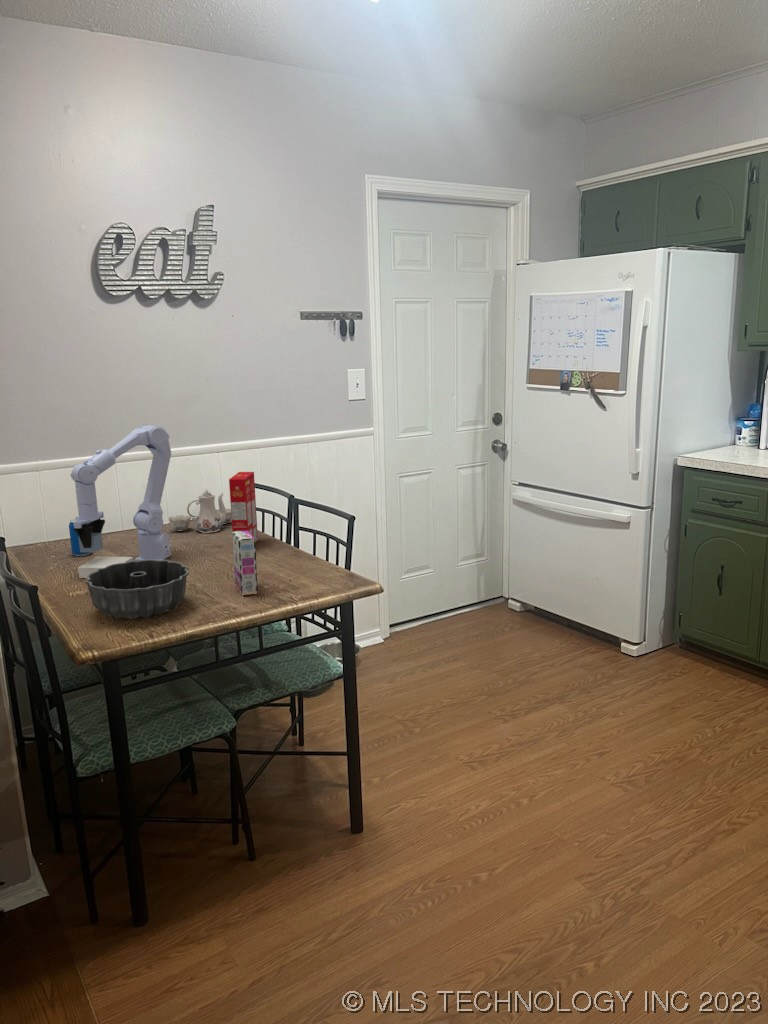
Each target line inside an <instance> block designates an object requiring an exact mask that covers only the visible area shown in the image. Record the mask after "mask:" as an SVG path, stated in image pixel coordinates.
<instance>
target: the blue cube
mask: <svg viewBox="0 0 768 1024" xmlns="http://www.w3.org/2000/svg"><path fill="white" fill-rule="evenodd" d="M78 539H79V547H80V552H91V553H96V552H99V551H100V550H102V549H104V544H103V543H104V542H103V535H102V532H101V533H92V535H91V548H84V547H83V545H82V542H81V540H80V538H79V537H78Z"/></svg>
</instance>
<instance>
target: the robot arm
mask: <svg viewBox="0 0 768 1024" xmlns="http://www.w3.org/2000/svg"><path fill="white" fill-rule="evenodd" d="M169 439H170V435H169V433H168V432H167V431H166V430H165V428H164V427H162V426H160V425H159V426H158V425H157V426H155V425H149V424H141V425H140V426H138V427H137V428H135V429H133V430H132V431H131V432H130V433H129V434H128V435H126V436H125V437H124V438H122V439H121V440H119V442H117V443H115V444H114V445H113V446H112V447H110V448H109V449H105V448H104V449H98V450H96V451H95V453H96V454H94V455H92V456H91V457H89V458H88V459H84V460H82V462H83V463H79V464H76V465H74V466H73V468H72V470H71V473H70V477H71V480H73V481H74V485H75V495H76V503H77V504H76V505H77V512H78V513H77V516H76V517H75V519H77V520H76V521H75V522H73V523H74V530H75V531H76V533H77V534H78V536H79V538H80V540H81V542H82V545H83V547H84V548H91V535H92V533H102V531H103V529H104V526H105V524H106V520H105V519H103V518H104V516H105V514H104V511H99V509H98V500H97V499H98V497H97V490H96V482H97V479H98V476H100V475H101V474H103V473H104V472H105V471H107V470H109V469H110V468H111V467H112V466H114V465H116V459H118V458H119V457H121V456H122V455H123V454H126V453H127V452H128V451H130V450H131V449H132V450H133V448H135V447H136V446H145V447H146V448H147V449H148V451H149V452H150V453H151V454H152V461H151V465H150V469H149V474H148V479H147V484H146V488H145V493H144V497H143V501H142V503H140V505H139V506H138V508H137V511H136V513H135V514H134V515H133V518H132V522H133V526H135V528H137V539H138V551H139V556H138V557H136V558H135V559H134V561H140V560H167V558H169V557H170V556H172V553H171V545H170V544H171V543H170V536H169V533H168V532H164V531H161V530H162V528H163V526H164V520H163V515H164V514H163V513H164V511H163V509H162V506H161V502H162V498H163V492H164V488H165V484H166V481H167V476H168V470H169V465H170V461H171V456H172V450H171V445H170V442H169V441H170V440H169Z"/></svg>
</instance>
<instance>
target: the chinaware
mask: <svg viewBox="0 0 768 1024" xmlns="http://www.w3.org/2000/svg"><path fill="white" fill-rule="evenodd" d="M223 496H224V493H220V494H219V495H218V499H217V500H218V501H217V502H218V509H216V505H215V497H216V495H214V494H212V493H211V492H209V490H208V489H205V490H204V491H203V492H202V494H201V495H198V497H197V498H198V499H194V500H191V501H190V502H189V503H188V504H187V506H186V511H187V514H188V515H187V516H185V515H182V514H181V515H179V514H178V515H176V516H169V518H168V521H169V522H167V524H166V529H167V530H168V531H172V530H173V532H177V531H178V530H186V529H188V527H189V526H190V523H191V520H192V522H193V523H194V526H195V529H196V530H197V532H198V531H202V532H208V531H215V530H218V529H220V530H221V528H222V527H223V526H224V525H223V523H230V522H229V521H231V522H232V517H231V508H226V506H225V505H224V504H225V503H224V501H223ZM193 503H195V504H196V505H197V506H198V505H199V511H198V515H192V514H191V512H190V509H189V508H190V506H191V505H192V504H193ZM169 524H170V526H171V527H172V528H169V526H168V525H169Z"/></svg>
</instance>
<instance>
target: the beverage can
mask: <svg viewBox="0 0 768 1024" xmlns="http://www.w3.org/2000/svg"><path fill="white" fill-rule="evenodd" d="M76 520H77V519H76V518H73V519H71V520H69V524H68V530H69V538H70V539H69V540H70V549H71V554H72V555H73V556H74V557H78V556H80V557H86V555H87V556H90V555H91V553H92V552H80V547H79V539H78V537H79V536H78V534H77V533H76V531H75V530H74V523H73V522H75V521H76ZM89 554H90V555H89Z"/></svg>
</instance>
